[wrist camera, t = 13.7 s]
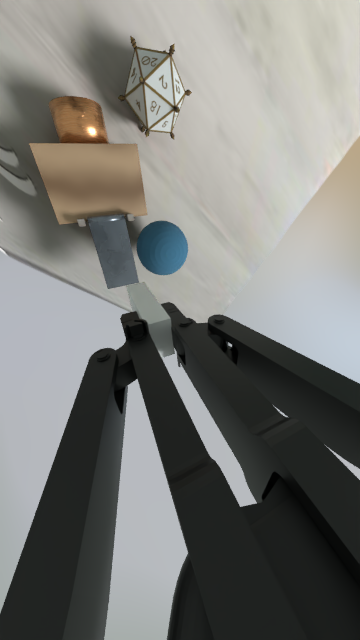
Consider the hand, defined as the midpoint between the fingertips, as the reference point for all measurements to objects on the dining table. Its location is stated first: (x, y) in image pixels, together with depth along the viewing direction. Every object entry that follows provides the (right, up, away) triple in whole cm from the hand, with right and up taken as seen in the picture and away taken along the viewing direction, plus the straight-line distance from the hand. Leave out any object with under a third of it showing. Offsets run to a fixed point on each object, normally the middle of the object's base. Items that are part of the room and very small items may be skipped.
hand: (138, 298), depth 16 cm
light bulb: (-2, +14, +21) cm, 25 cm away
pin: (-10, +19, +14) cm, 25 cm away
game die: (-1, +30, +12) cm, 32 cm away
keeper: (-6, +8, +12) cm, 16 cm away
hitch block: (-10, +19, +14) cm, 26 cm away
